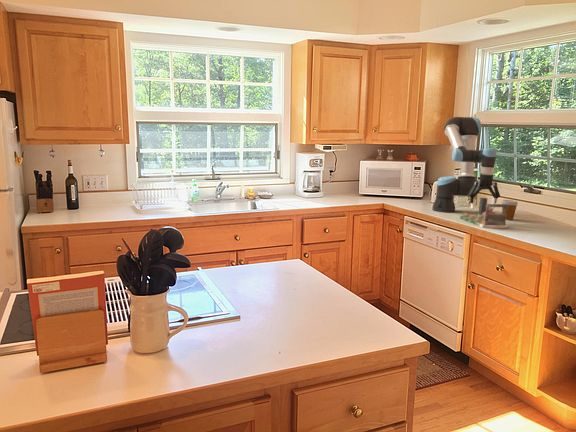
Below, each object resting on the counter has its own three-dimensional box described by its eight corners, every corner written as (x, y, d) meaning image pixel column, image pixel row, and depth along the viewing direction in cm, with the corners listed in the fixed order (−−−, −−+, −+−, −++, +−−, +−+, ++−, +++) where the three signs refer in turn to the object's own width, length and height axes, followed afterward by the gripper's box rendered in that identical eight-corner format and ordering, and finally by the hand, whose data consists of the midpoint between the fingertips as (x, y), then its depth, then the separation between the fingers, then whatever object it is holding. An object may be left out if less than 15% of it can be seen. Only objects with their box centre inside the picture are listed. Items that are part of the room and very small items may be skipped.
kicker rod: (475, 218, 295) (478, 197, 292) (484, 218, 296) (486, 197, 293) (485, 222, 284) (488, 200, 282) (494, 222, 285) (497, 200, 283)
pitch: (459, 218, 304) (462, 197, 301) (482, 218, 306) (485, 197, 303) (482, 227, 278) (485, 204, 276) (507, 227, 281) (510, 204, 278)
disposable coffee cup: (512, 218, 311) (514, 200, 309) (517, 221, 302) (520, 202, 299) (497, 217, 312) (499, 199, 310) (502, 220, 303) (504, 201, 300)
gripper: (471, 174, 283) (466, 209, 287) (509, 175, 287) (504, 209, 291) (464, 172, 290) (460, 207, 294) (502, 173, 294) (497, 207, 298)
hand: (482, 208), depth 293 cm, fingers open, 13 cm apart
